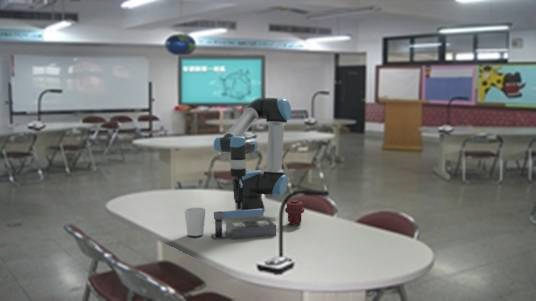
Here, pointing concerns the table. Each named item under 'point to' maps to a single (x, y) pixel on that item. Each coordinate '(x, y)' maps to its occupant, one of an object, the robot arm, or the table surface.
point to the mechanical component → (294, 212)
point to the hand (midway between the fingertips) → (238, 214)
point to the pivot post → (218, 230)
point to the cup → (195, 221)
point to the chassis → (250, 229)
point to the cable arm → (237, 214)
